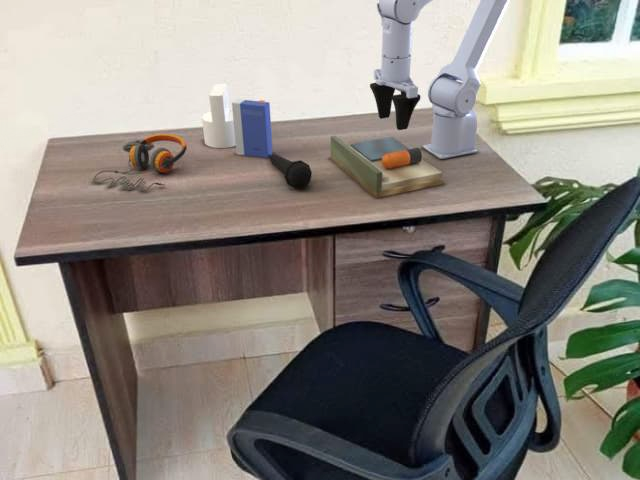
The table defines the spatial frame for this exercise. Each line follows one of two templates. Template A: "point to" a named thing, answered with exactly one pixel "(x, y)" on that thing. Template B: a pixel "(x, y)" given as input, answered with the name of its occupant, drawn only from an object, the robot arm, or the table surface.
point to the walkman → (252, 128)
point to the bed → (370, 172)
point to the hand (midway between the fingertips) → (393, 123)
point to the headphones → (159, 159)
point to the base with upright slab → (219, 119)
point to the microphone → (292, 171)
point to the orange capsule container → (402, 158)
